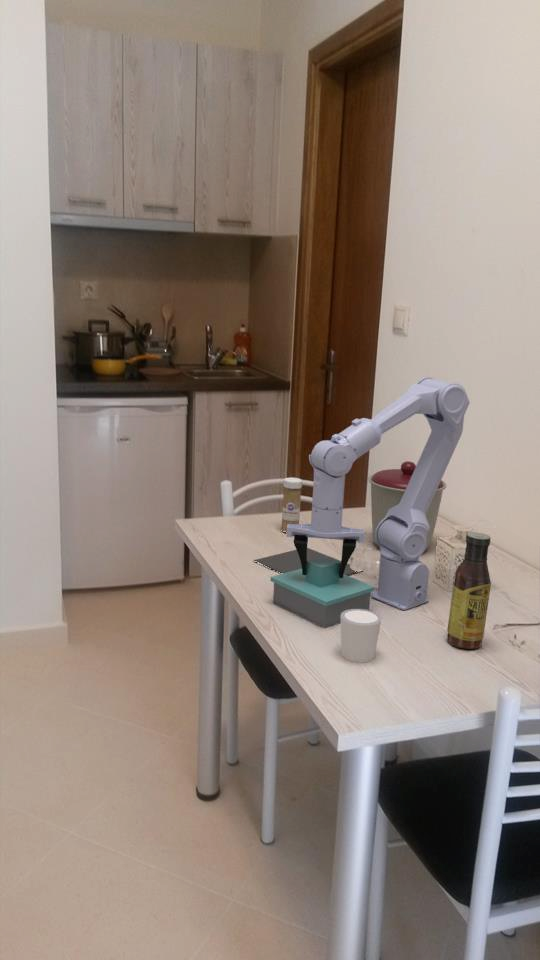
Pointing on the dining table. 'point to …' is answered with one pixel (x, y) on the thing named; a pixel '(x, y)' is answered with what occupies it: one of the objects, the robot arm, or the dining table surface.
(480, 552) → the sauce bottle
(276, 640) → the dining table surface
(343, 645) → the white cup
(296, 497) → the sprinkles bottle
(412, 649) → the dining table surface
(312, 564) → the lid
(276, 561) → the mat
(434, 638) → the dining table surface
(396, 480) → the canister
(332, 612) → the tub
